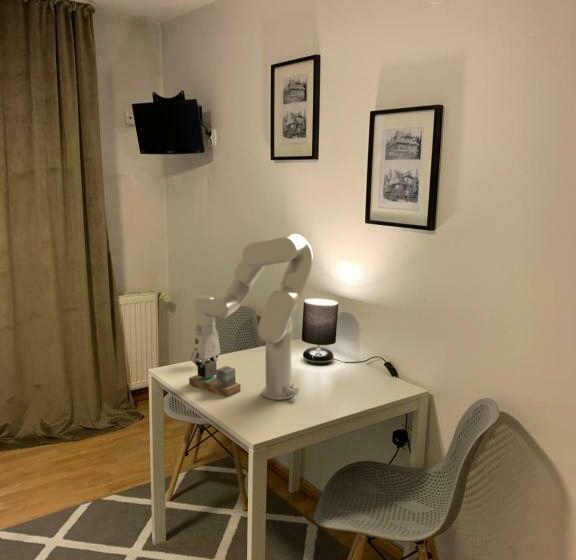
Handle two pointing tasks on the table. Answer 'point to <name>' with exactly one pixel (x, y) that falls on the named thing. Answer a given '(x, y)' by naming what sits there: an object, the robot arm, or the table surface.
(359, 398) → the table surface
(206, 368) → the dice cube
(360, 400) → the table surface
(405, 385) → the table surface
